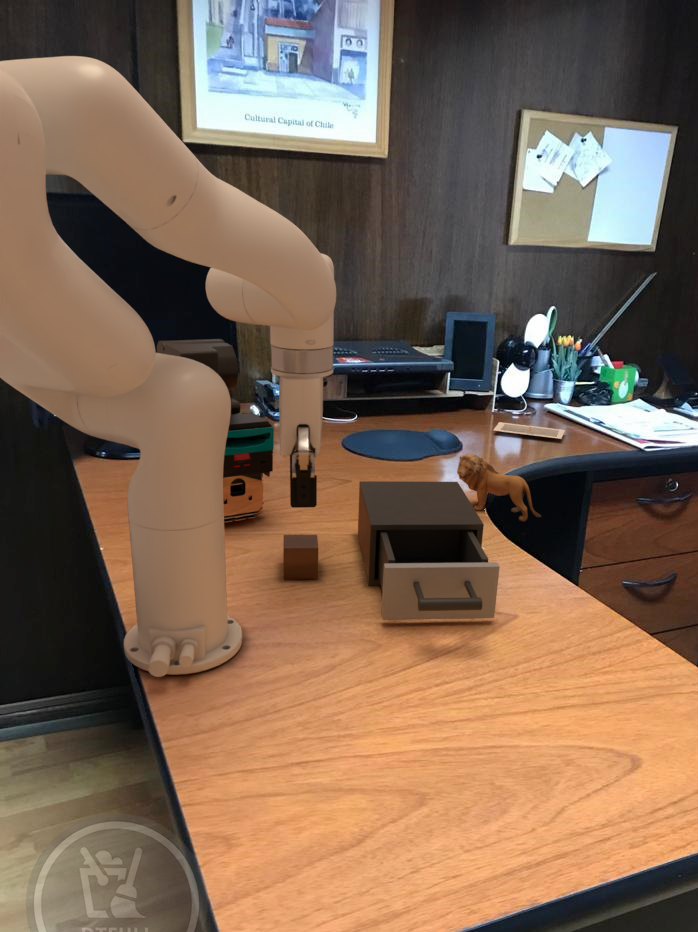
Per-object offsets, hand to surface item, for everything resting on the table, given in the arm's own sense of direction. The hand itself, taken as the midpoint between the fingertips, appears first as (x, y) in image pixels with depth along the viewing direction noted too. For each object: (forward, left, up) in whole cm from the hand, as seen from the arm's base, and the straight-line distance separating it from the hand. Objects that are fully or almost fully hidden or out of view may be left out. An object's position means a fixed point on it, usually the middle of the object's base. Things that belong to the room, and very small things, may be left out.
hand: (302, 492), depth 100 cm
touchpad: (+69, -52, -11) cm, 87 cm away
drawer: (-10, -16, -10) cm, 22 cm away
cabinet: (+4, -16, -11) cm, 20 cm away
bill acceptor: (+25, +13, -11) cm, 30 cm away
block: (0, 0, -11) cm, 11 cm away
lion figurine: (+22, -32, -11) cm, 40 cm away
